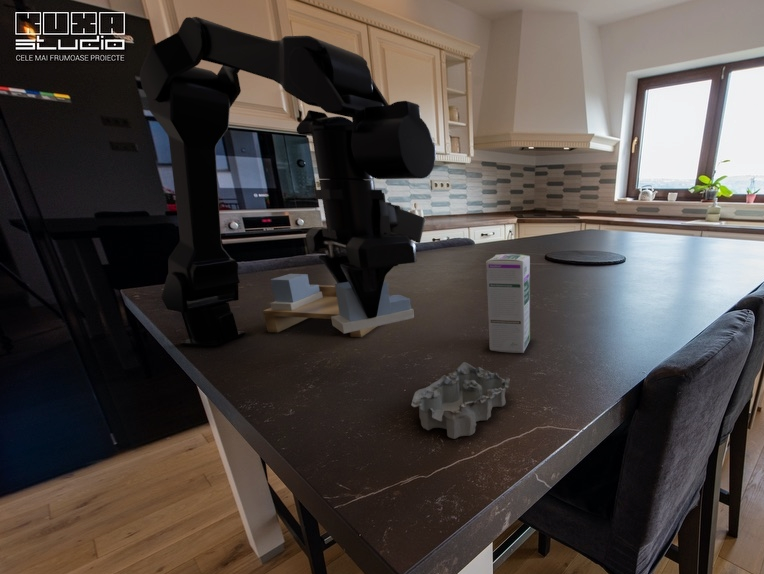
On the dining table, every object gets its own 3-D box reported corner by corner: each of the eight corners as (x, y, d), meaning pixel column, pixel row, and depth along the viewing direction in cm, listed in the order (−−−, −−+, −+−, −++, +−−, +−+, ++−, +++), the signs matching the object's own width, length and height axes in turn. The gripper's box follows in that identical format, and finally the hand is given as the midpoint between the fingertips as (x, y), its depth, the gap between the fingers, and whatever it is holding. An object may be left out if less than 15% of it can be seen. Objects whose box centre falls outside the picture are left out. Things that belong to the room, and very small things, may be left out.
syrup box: (524, 354, 61) (525, 260, 56) (487, 351, 62) (485, 258, 57) (530, 341, 67) (531, 254, 61) (496, 338, 68) (494, 253, 62)
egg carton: (462, 446, 39) (459, 410, 38) (406, 424, 43) (403, 391, 41) (516, 399, 48) (516, 369, 46) (466, 385, 51) (464, 356, 50)
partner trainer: (291, 310, 69) (285, 281, 68) (271, 309, 70) (264, 280, 68) (323, 297, 78) (318, 271, 76) (304, 296, 78) (299, 270, 77)
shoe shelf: (267, 332, 71) (260, 299, 69) (309, 312, 82) (304, 284, 80) (361, 337, 68) (356, 303, 66) (391, 316, 79) (388, 287, 77)
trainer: (343, 333, 46) (336, 290, 45) (332, 325, 49) (325, 284, 47) (414, 318, 52) (410, 279, 50) (400, 311, 55) (396, 274, 53)
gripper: (454, 179, 42) (461, 318, 48) (380, 182, 56) (392, 290, 61) (350, 177, 36) (372, 339, 41) (294, 181, 49) (316, 303, 54)
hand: (365, 314), depth 50 cm, fingers closed on trainer, 3 cm apart
